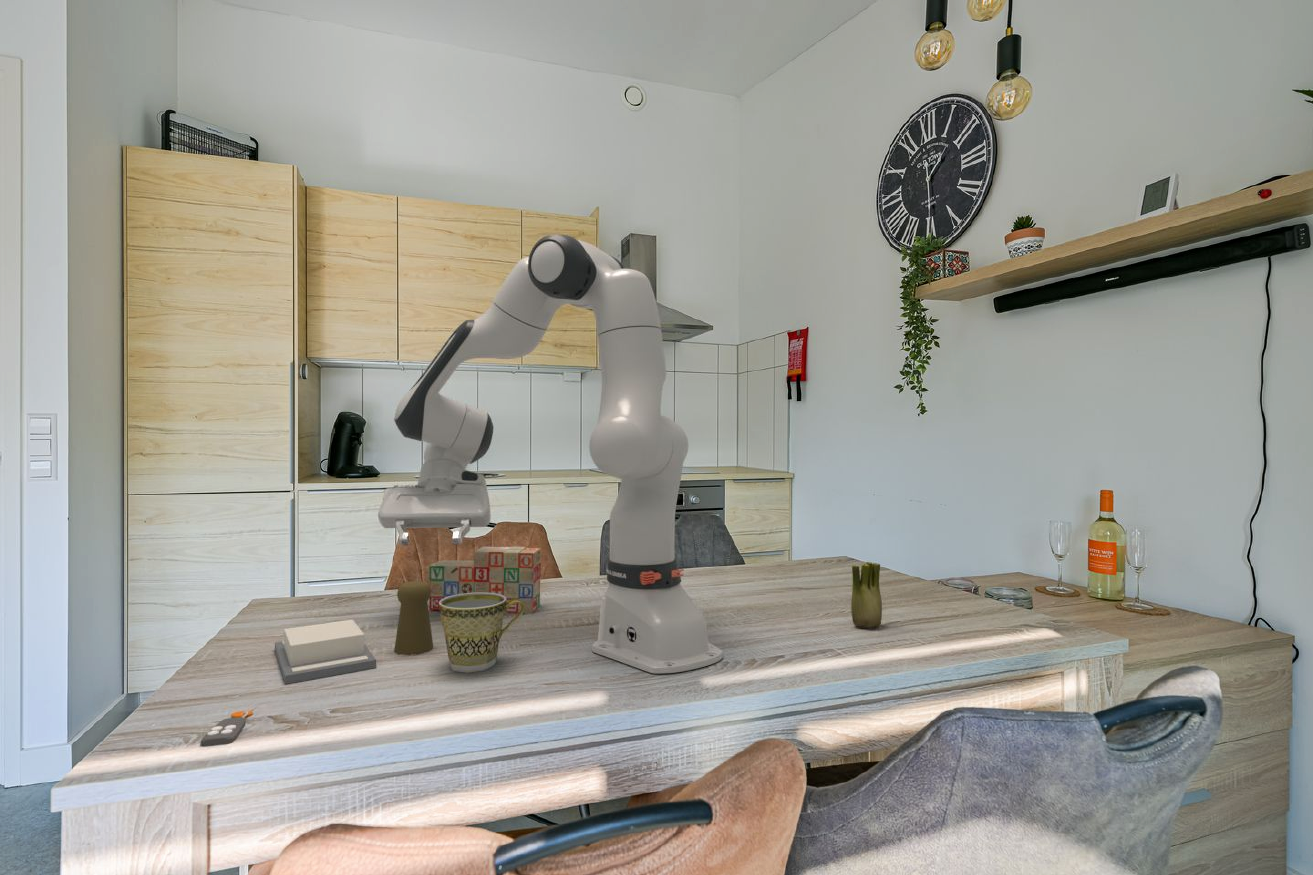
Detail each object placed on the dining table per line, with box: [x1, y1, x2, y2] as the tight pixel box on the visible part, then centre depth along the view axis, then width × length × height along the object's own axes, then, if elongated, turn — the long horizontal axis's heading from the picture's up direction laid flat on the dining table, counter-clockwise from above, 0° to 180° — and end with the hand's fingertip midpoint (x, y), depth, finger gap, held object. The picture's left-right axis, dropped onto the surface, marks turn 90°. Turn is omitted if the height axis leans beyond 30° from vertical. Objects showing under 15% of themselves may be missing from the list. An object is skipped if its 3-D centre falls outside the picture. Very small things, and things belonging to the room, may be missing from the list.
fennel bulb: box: [850, 561, 883, 630], centre depth 122 cm, size 6×5×12 cm
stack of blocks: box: [428, 546, 542, 614], centre depth 133 cm, size 21×6×12 cm, turn 87°
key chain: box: [200, 705, 260, 747], centre depth 80 cm, size 13×4×2 cm, turn 16°
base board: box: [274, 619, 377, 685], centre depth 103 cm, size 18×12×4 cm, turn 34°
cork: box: [393, 580, 434, 656], centre depth 108 cm, size 6×6×11 cm
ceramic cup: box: [439, 592, 524, 674], centre depth 101 cm, size 13×10×10 cm
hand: (430, 543), depth 120 cm, fingers open, 8 cm apart
